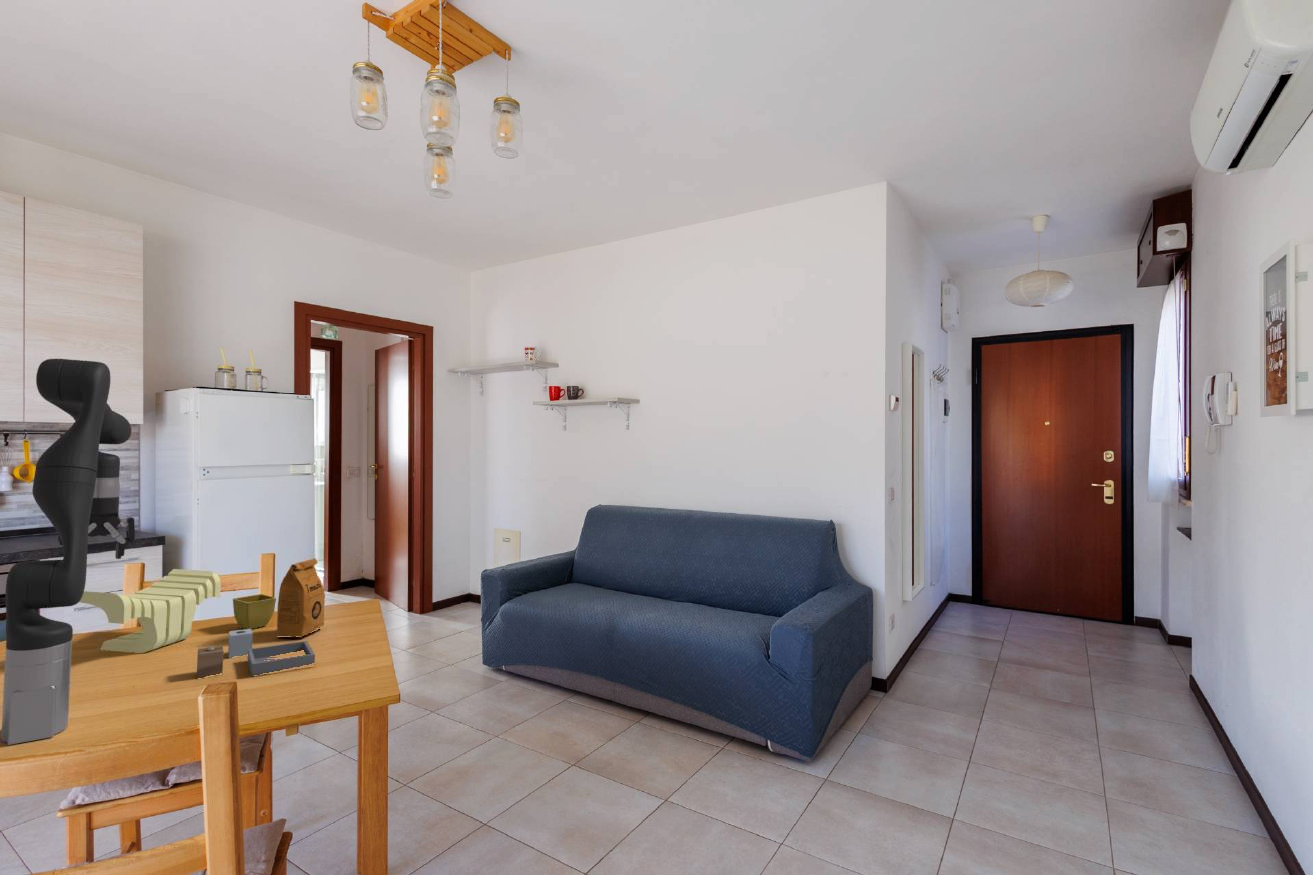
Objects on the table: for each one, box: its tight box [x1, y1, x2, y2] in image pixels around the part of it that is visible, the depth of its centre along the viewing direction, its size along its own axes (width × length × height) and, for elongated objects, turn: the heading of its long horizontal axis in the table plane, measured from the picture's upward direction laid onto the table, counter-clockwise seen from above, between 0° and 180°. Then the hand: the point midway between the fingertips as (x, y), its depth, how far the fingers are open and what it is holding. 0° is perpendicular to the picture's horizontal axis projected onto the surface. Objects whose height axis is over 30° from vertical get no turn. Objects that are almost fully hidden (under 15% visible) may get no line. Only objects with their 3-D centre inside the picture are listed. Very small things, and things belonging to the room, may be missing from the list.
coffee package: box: [276, 558, 326, 638], centre depth 188 cm, size 10×12×22 cm
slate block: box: [227, 628, 254, 659], centre depth 169 cm, size 5×5×6 cm
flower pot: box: [232, 593, 277, 630], centre depth 193 cm, size 9×9×9 cm
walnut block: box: [196, 644, 224, 679], centre depth 154 cm, size 5×5×6 cm
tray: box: [246, 640, 316, 676], centre depth 162 cm, size 14×14×3 cm
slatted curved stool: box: [78, 568, 222, 654], centre depth 174 cm, size 30×16×18 cm, turn 173°
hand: (96, 560), depth 156 cm, fingers open, 8 cm apart
